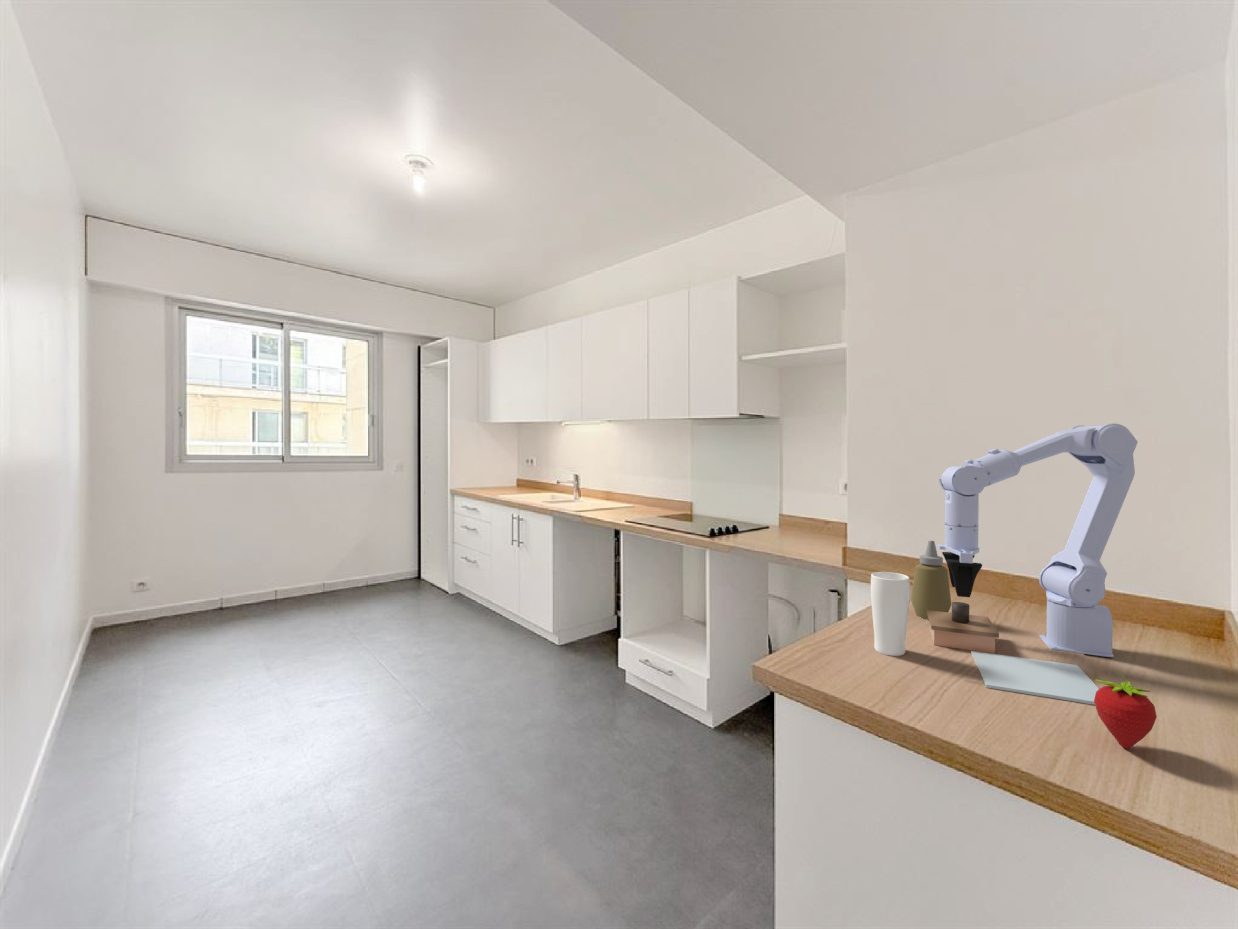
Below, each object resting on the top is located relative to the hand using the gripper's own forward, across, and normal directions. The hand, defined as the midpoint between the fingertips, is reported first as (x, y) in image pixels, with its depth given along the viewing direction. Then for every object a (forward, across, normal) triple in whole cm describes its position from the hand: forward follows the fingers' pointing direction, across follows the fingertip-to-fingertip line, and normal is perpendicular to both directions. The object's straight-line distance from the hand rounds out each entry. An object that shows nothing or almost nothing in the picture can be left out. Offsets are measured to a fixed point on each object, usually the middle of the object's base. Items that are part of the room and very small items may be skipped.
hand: (960, 591), depth 106 cm
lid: (+7, 0, 0) cm, 7 cm away
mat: (+10, +14, +9) cm, 20 cm away
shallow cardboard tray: (+10, 0, 0) cm, 10 cm away
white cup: (+11, +12, -13) cm, 21 cm away
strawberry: (+11, +35, +14) cm, 39 cm away
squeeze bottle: (+11, -15, -4) cm, 19 cm away
